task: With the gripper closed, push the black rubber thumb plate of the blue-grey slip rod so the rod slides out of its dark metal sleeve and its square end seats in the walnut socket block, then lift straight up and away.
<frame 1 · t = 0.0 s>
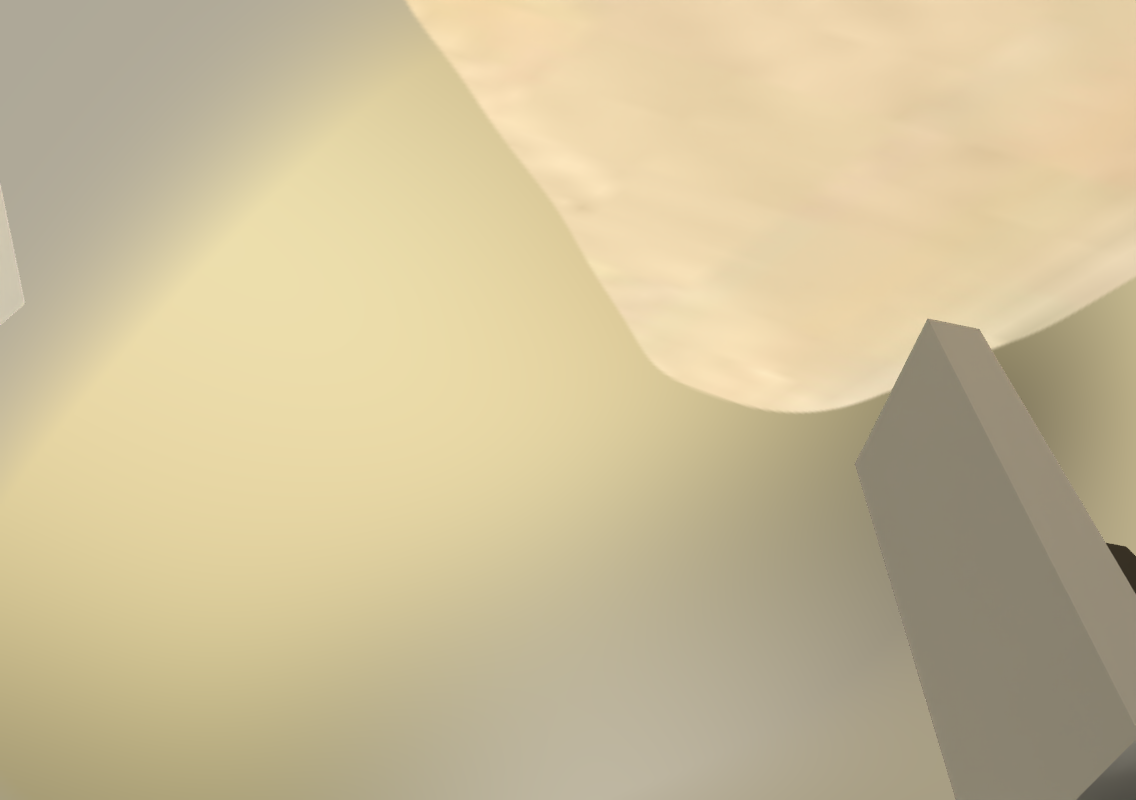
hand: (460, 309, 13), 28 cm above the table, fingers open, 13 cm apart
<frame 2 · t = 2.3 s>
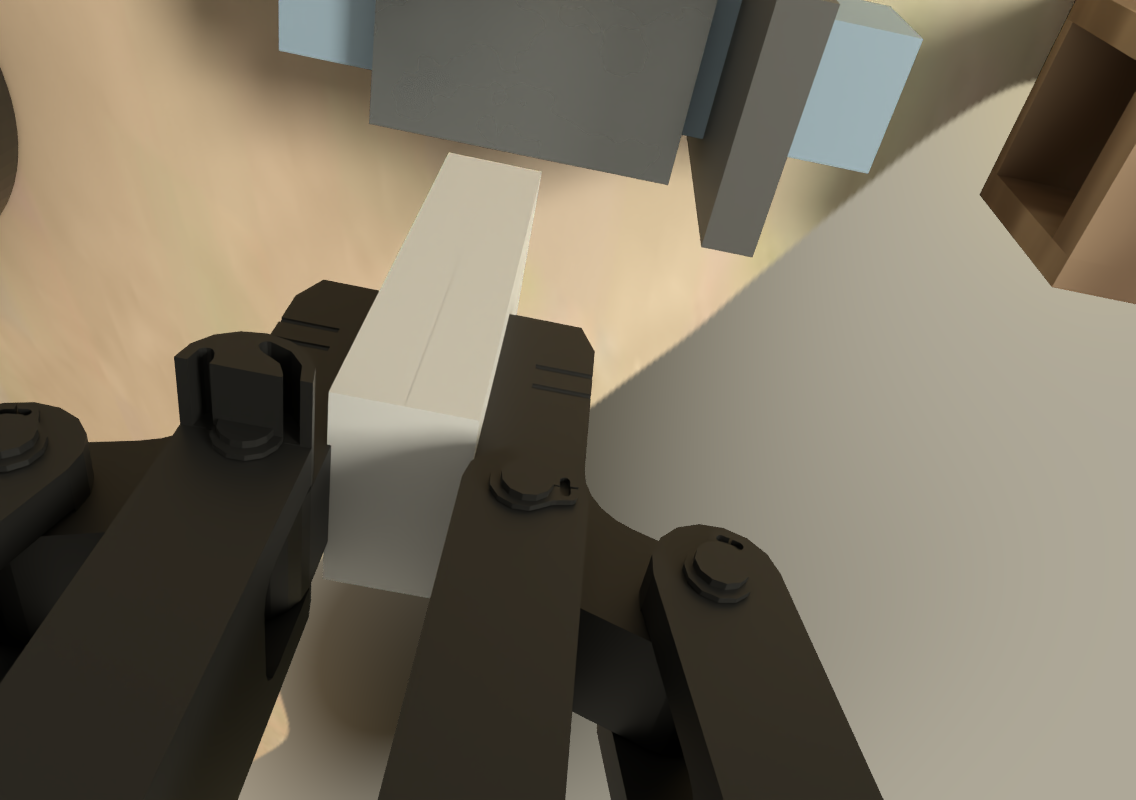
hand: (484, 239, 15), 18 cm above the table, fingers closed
socket block: (1089, 111, 30), on the table
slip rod: (592, 45, 25), point 5 cm above the table, slide at 0.0 cm
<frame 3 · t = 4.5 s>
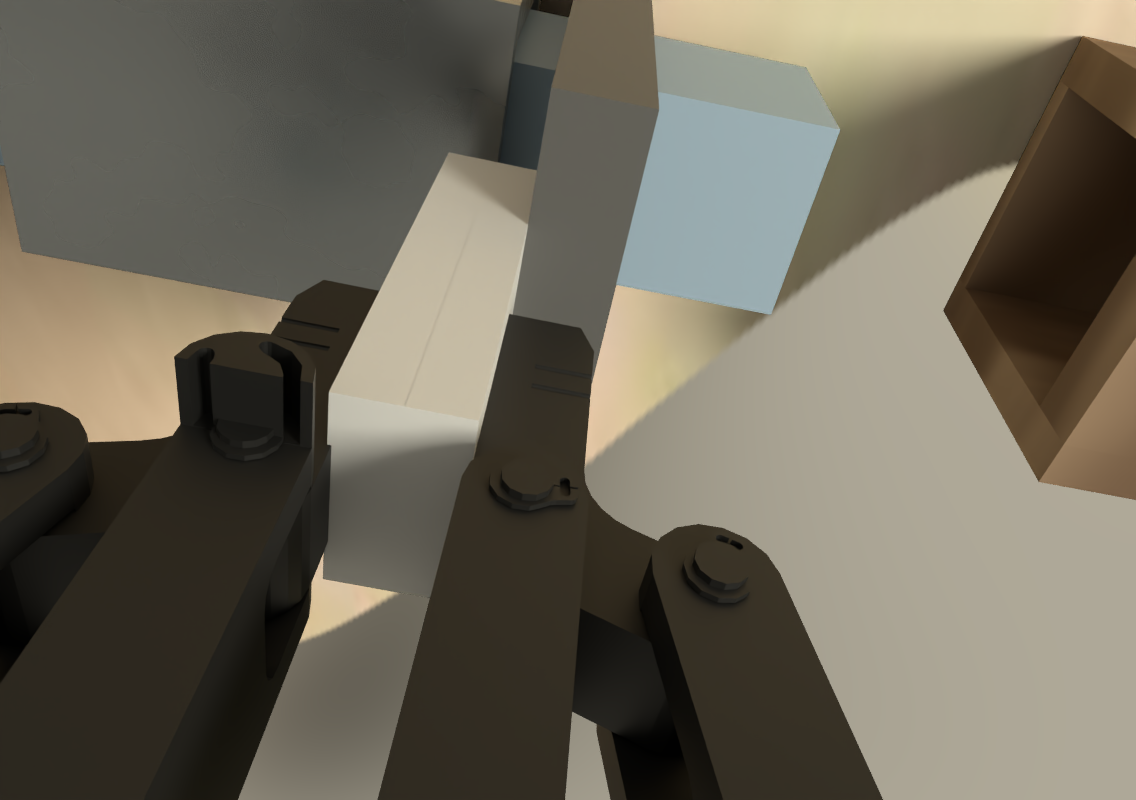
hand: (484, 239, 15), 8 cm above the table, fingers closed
sleeve: (339, 48, 21), on the table
socket block: (1092, 204, 22), on the table
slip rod: (344, 138, 17), point 5 cm above the table, slide at 0.0 cm, touching gripper
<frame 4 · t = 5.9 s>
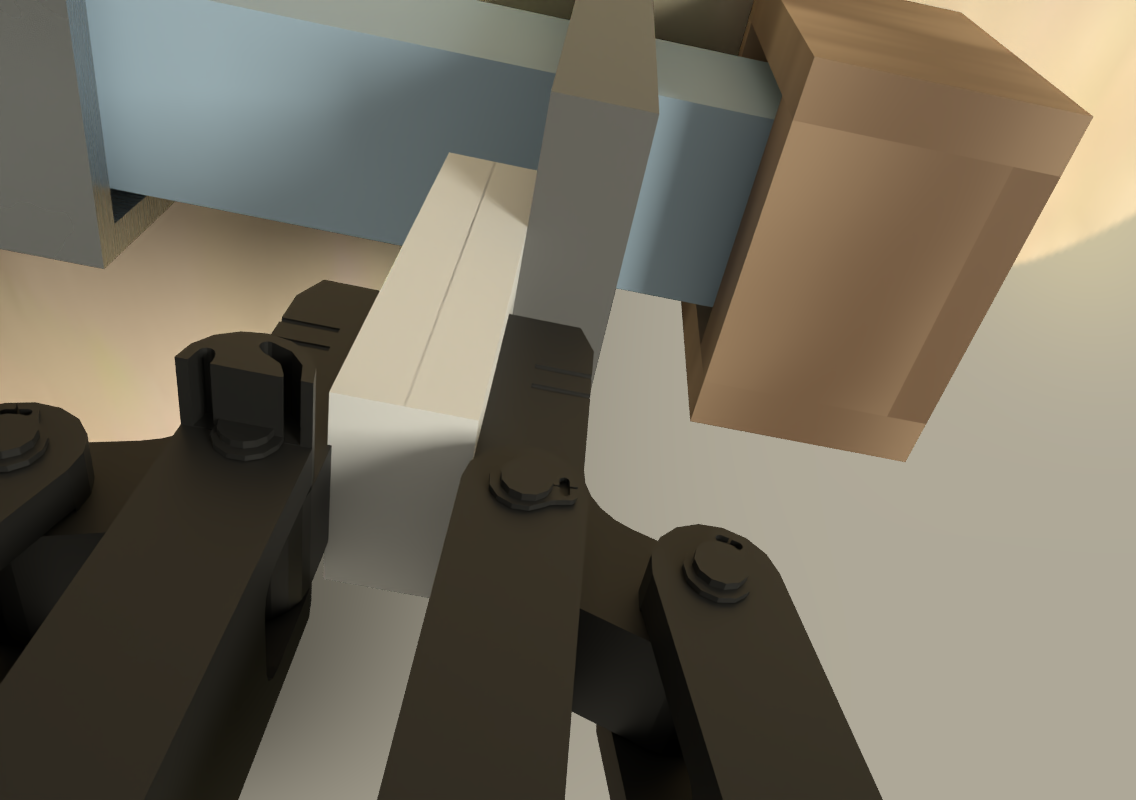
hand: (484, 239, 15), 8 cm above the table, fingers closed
socket block: (806, 148, 21), on the table
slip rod: (344, 141, 17), point 5 cm above the table, slide at 7.4 cm, touching gripper
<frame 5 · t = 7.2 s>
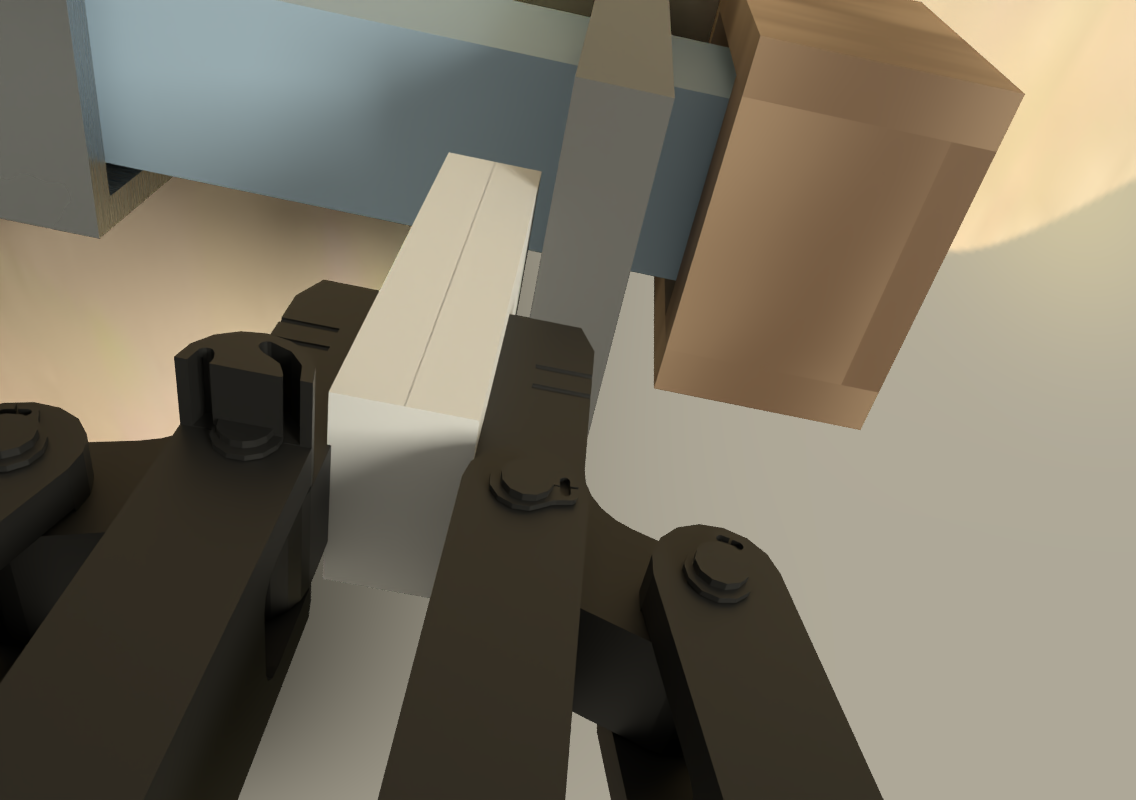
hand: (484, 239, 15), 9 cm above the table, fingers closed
socket block: (775, 133, 22), on the table
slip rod: (376, 128, 18), point 5 cm above the table, slide at 8.4 cm
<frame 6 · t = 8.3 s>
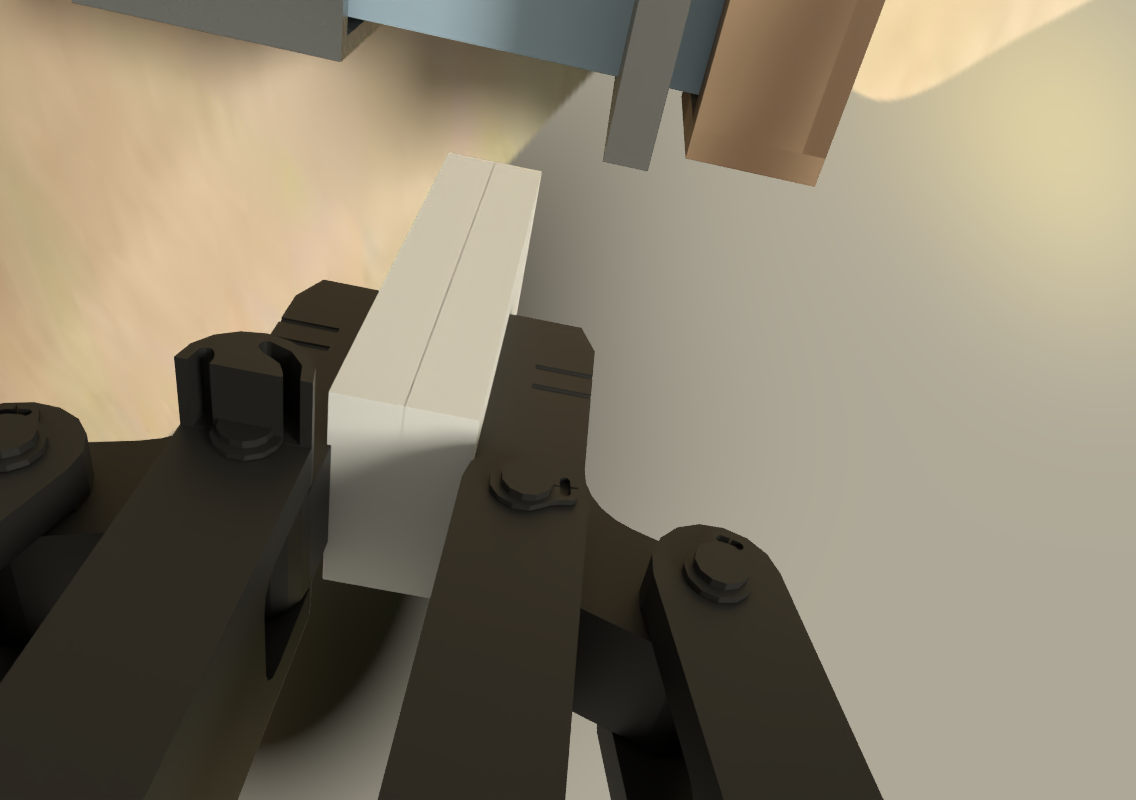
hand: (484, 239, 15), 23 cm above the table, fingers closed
socket block: (764, 14, 33), on the table
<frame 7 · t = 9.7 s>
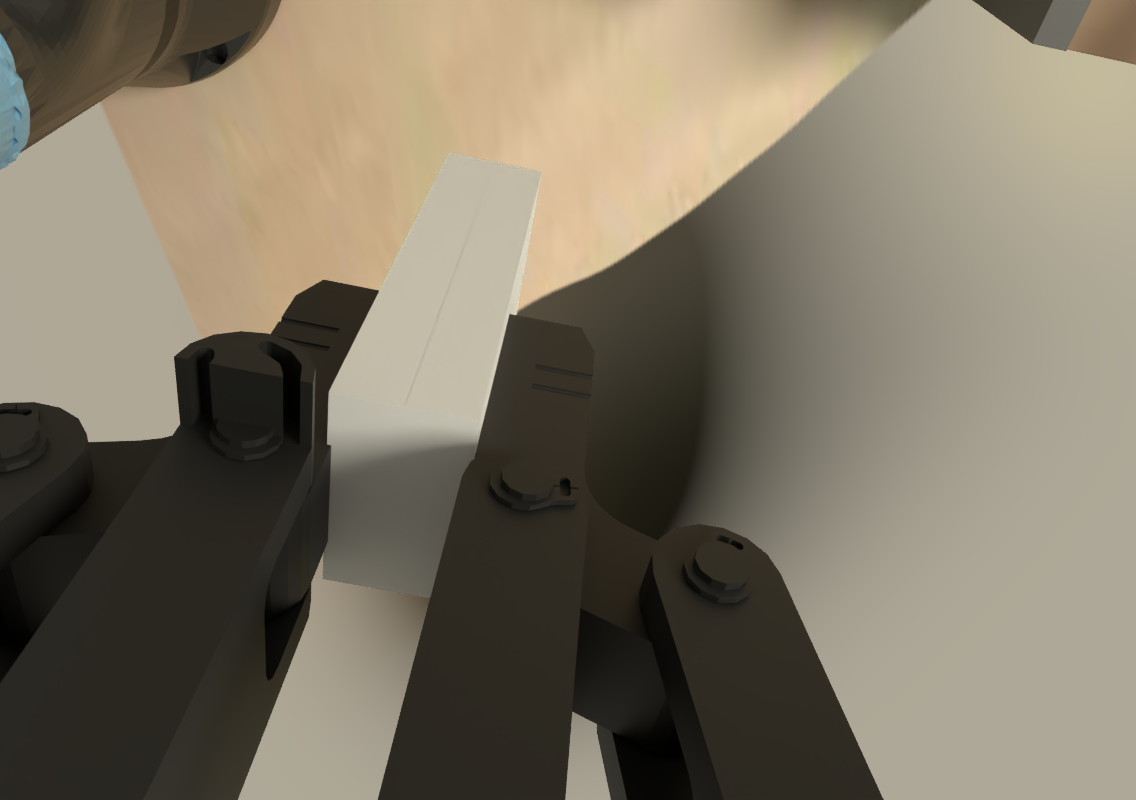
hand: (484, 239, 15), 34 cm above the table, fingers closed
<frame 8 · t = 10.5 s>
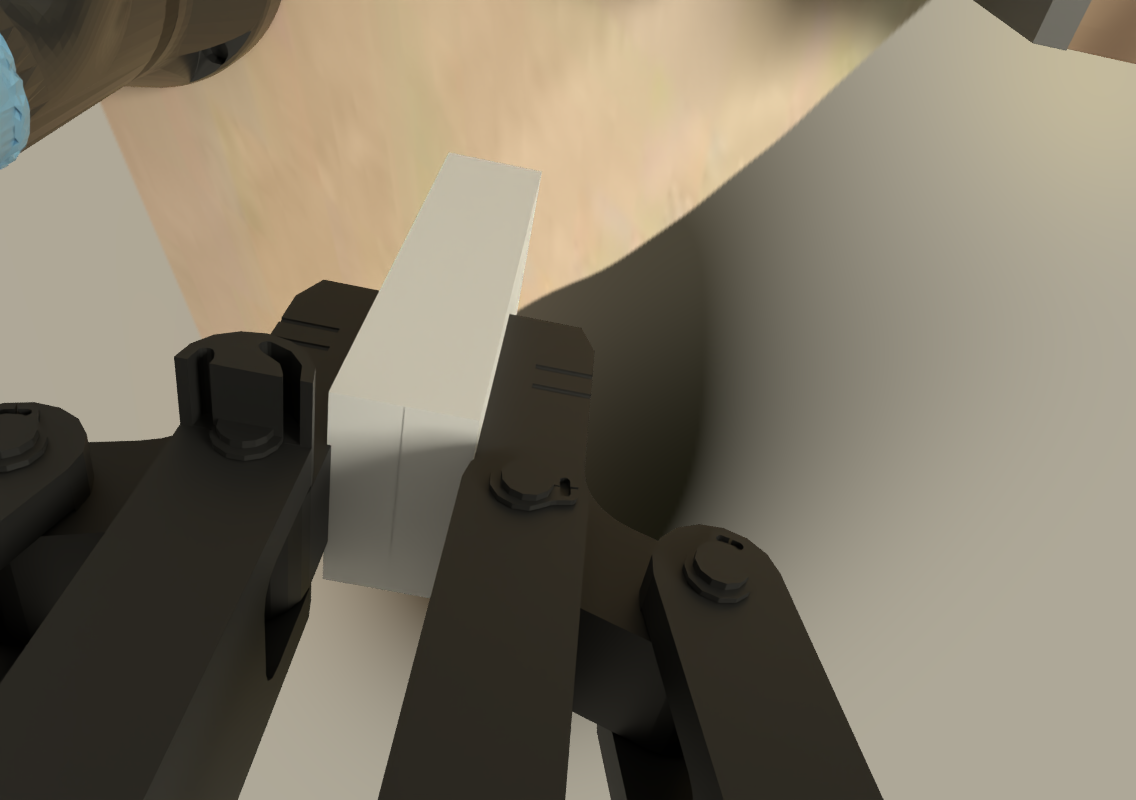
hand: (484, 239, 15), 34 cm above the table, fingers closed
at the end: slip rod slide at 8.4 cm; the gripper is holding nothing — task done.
